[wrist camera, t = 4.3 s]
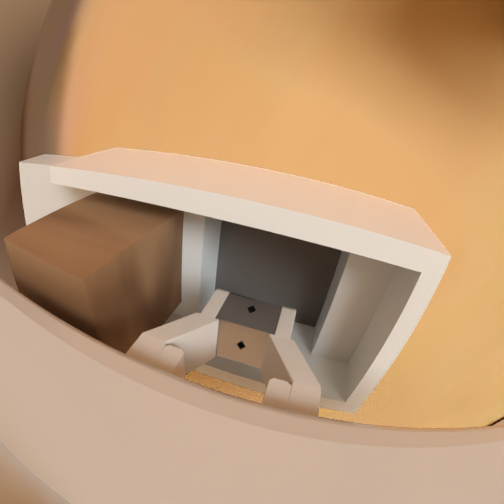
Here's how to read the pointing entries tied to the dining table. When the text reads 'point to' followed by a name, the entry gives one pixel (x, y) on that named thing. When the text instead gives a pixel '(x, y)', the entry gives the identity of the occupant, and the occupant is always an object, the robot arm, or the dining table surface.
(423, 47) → the dining table surface
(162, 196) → the channel
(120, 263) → the walnut block
